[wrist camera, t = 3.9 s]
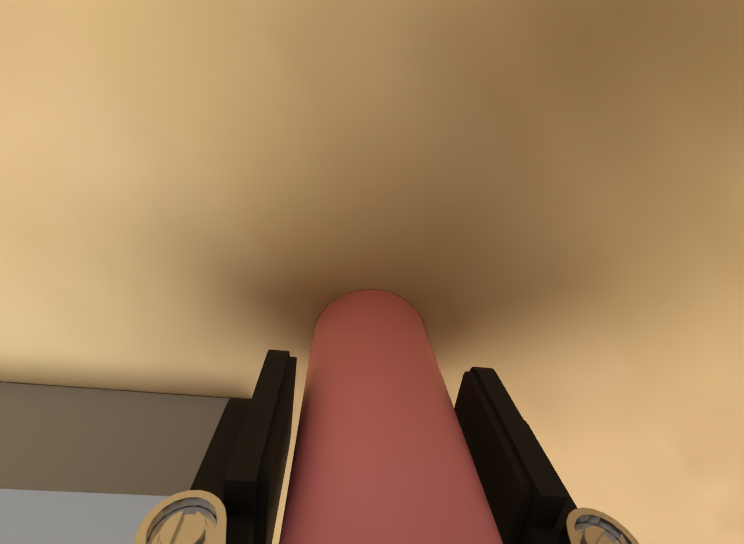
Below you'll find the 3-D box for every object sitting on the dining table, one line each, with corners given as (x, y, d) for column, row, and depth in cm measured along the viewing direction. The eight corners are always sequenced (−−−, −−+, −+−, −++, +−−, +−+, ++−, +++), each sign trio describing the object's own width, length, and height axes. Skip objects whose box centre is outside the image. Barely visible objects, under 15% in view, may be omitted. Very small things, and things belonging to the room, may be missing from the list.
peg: (434, 295, 13) (916, 1281, 2) (414, 390, 15) (625, 1263, 3) (317, 283, 13) (104, 1439, 2) (308, 382, 14) (162, 1348, 3)
